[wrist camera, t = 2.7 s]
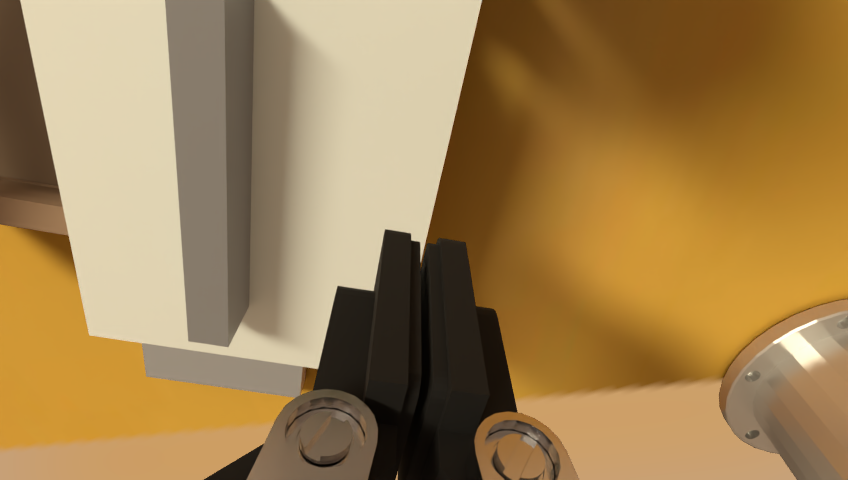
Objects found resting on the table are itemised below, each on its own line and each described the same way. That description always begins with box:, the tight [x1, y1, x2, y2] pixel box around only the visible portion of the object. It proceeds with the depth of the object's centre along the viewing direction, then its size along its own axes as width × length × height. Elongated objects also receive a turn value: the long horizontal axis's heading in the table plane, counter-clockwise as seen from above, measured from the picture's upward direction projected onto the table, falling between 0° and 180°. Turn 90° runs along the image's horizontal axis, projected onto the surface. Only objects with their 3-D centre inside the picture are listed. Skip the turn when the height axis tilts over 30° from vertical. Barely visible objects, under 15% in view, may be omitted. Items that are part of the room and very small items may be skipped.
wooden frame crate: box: [0, 0, 68, 235], centre depth 18 cm, size 22×16×8 cm
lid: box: [20, 0, 482, 369], centre depth 14 cm, size 11×15×3 cm
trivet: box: [142, 343, 306, 398], centre depth 28 cm, size 9×9×2 cm
